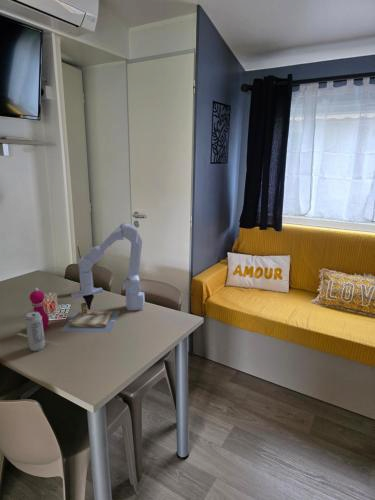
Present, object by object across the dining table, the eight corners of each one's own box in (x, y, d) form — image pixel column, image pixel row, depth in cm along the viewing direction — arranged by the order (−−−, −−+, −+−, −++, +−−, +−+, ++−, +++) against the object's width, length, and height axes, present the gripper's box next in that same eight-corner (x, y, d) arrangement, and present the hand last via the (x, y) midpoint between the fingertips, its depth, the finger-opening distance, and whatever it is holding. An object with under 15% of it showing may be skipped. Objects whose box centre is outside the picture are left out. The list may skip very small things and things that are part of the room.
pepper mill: (33, 334, 146) (27, 292, 141) (32, 327, 152) (26, 286, 147) (50, 331, 149) (45, 289, 144) (49, 324, 156) (44, 283, 150)
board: (119, 312, 167) (119, 311, 167) (110, 333, 148) (110, 331, 147) (75, 312, 167) (75, 310, 167) (60, 332, 148) (60, 331, 148)
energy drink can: (40, 342, 140) (36, 309, 136) (48, 347, 137) (44, 313, 133) (26, 348, 136) (21, 314, 132) (33, 353, 132) (29, 319, 128)
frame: (111, 314, 163) (111, 303, 161) (105, 326, 151) (104, 314, 150) (79, 314, 163) (78, 302, 162) (70, 326, 151) (69, 314, 150)
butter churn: (97, 289, 196) (93, 243, 188) (93, 296, 187) (89, 247, 179) (81, 289, 196) (77, 243, 188) (76, 296, 186) (72, 247, 179)
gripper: (98, 277, 166) (100, 302, 169) (68, 283, 158) (71, 309, 162) (103, 281, 160) (105, 307, 164) (72, 287, 152) (75, 314, 156)
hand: (88, 308), depth 162 cm, fingers closed
